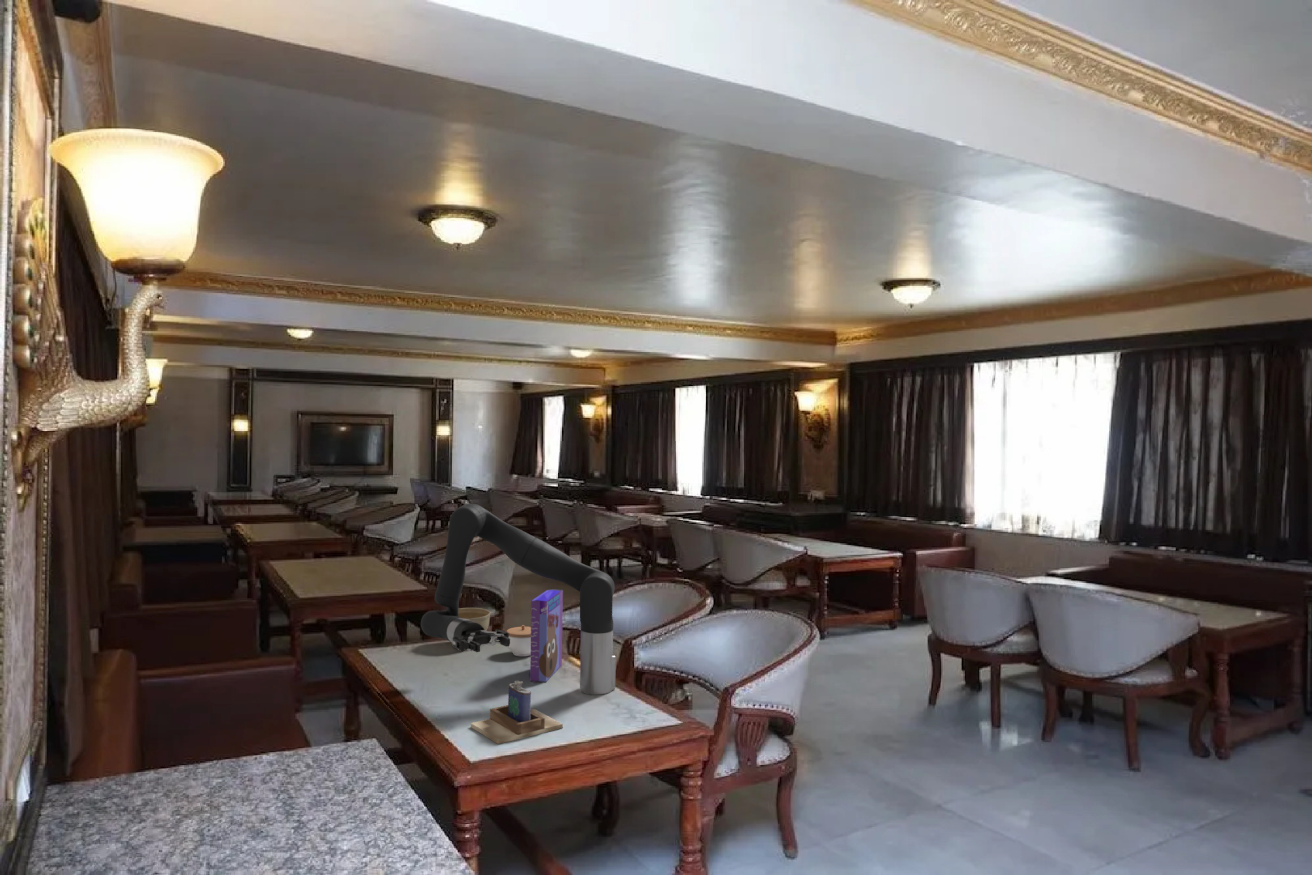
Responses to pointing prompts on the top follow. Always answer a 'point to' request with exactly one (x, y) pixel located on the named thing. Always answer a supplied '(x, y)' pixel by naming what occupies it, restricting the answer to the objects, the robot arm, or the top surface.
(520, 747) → the top surface
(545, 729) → the slot board
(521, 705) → the flask
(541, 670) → the cereal box
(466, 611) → the planter bowl
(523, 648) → the lidded jar
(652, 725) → the top surface
